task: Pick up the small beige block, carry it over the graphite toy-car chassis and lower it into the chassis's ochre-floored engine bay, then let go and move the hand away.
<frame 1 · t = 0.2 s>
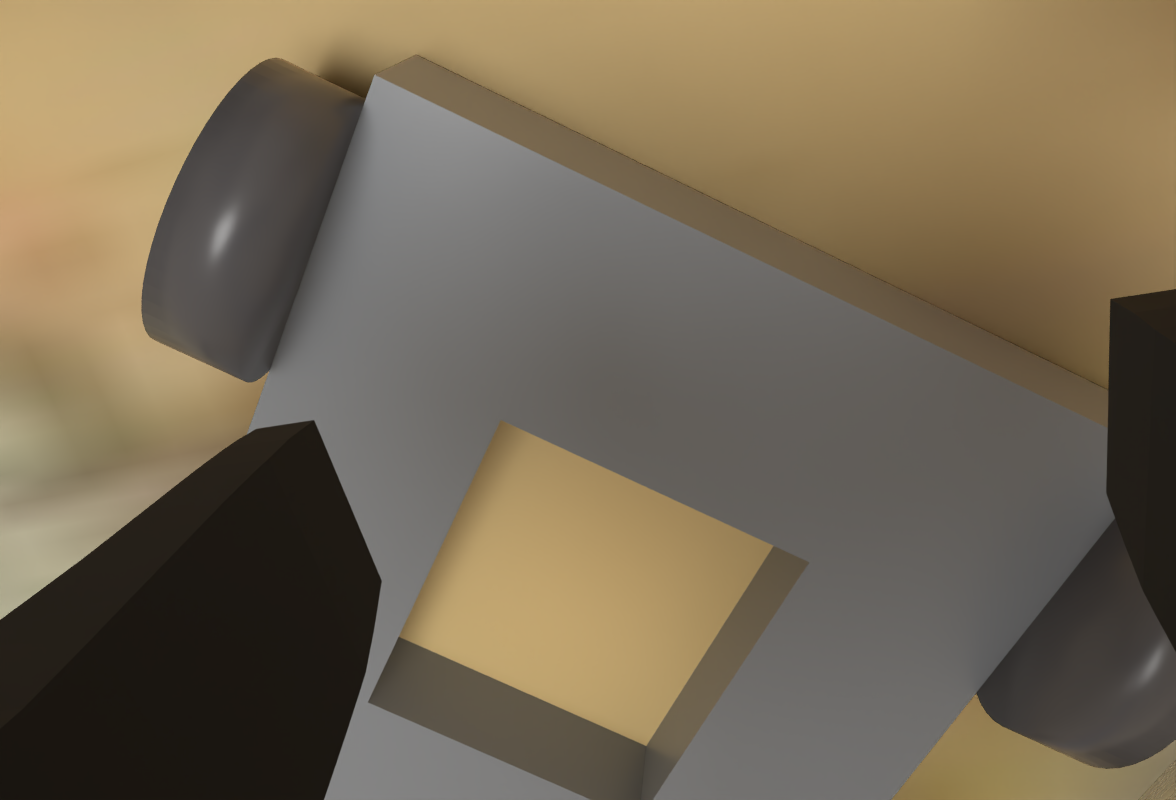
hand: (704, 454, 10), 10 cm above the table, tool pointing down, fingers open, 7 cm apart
chassis: (552, 633, 24), on the table
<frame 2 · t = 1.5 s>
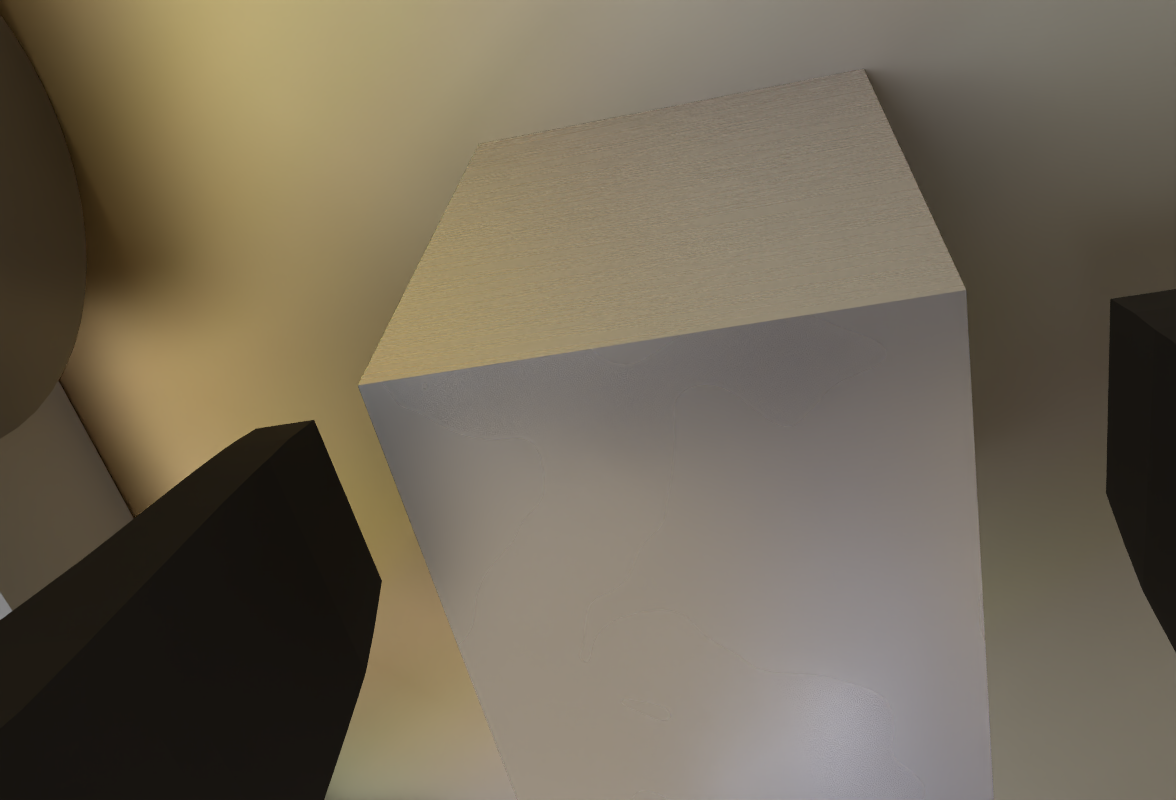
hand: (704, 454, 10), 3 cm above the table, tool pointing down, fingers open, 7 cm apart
beige block: (705, 317, 13), on the table
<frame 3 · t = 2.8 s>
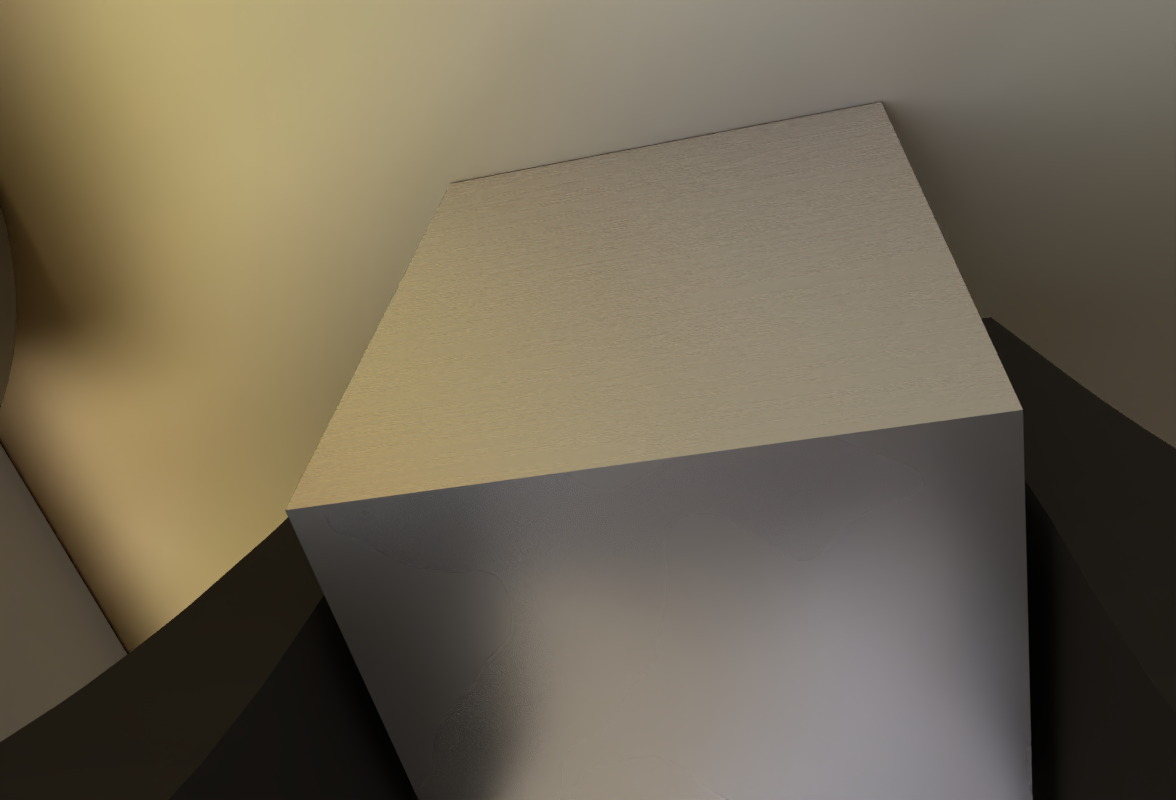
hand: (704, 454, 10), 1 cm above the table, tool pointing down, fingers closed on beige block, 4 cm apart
beige block: (703, 375, 11), on the table, touching gripper
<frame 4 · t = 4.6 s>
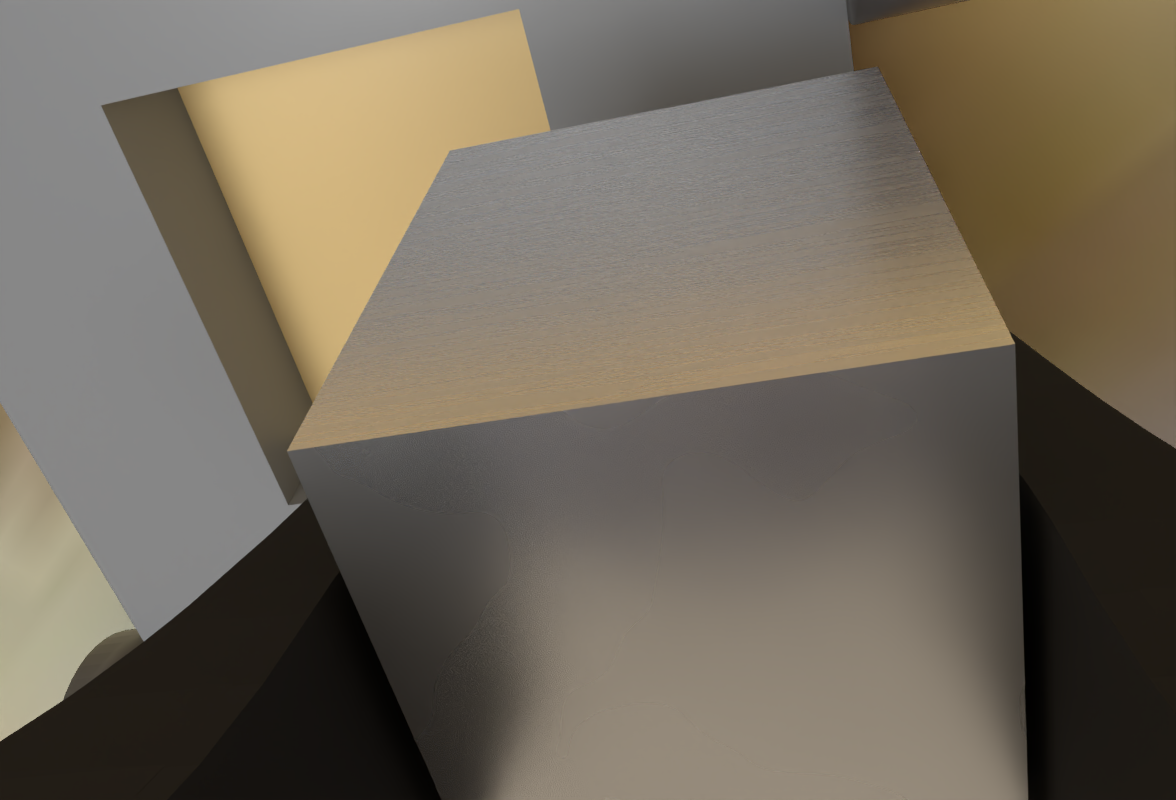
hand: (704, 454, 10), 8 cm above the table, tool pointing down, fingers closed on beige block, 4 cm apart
beige block: (701, 343, 11), point 7 cm above the table, touching gripper
chassis: (457, 328, 19), on the table
when the fingers open (3 cm above the table, at t = 6.7 s): beige block drops 1 cm, resting on chassis.
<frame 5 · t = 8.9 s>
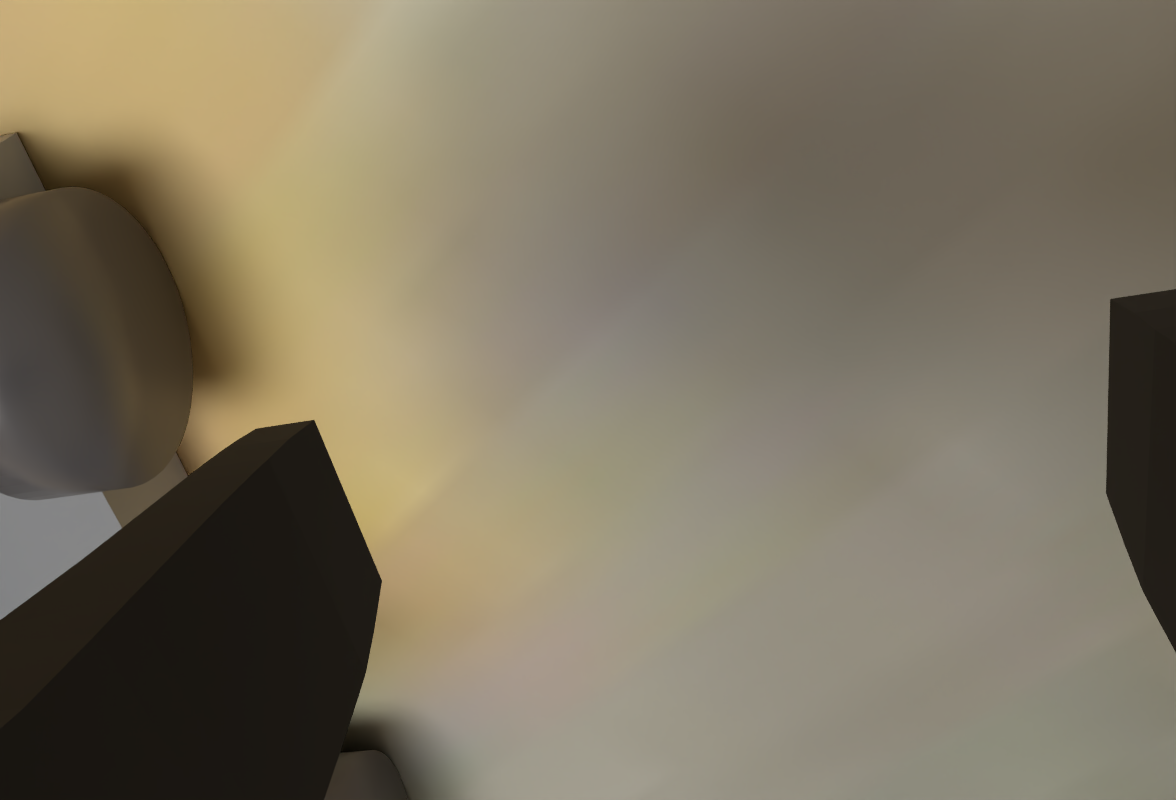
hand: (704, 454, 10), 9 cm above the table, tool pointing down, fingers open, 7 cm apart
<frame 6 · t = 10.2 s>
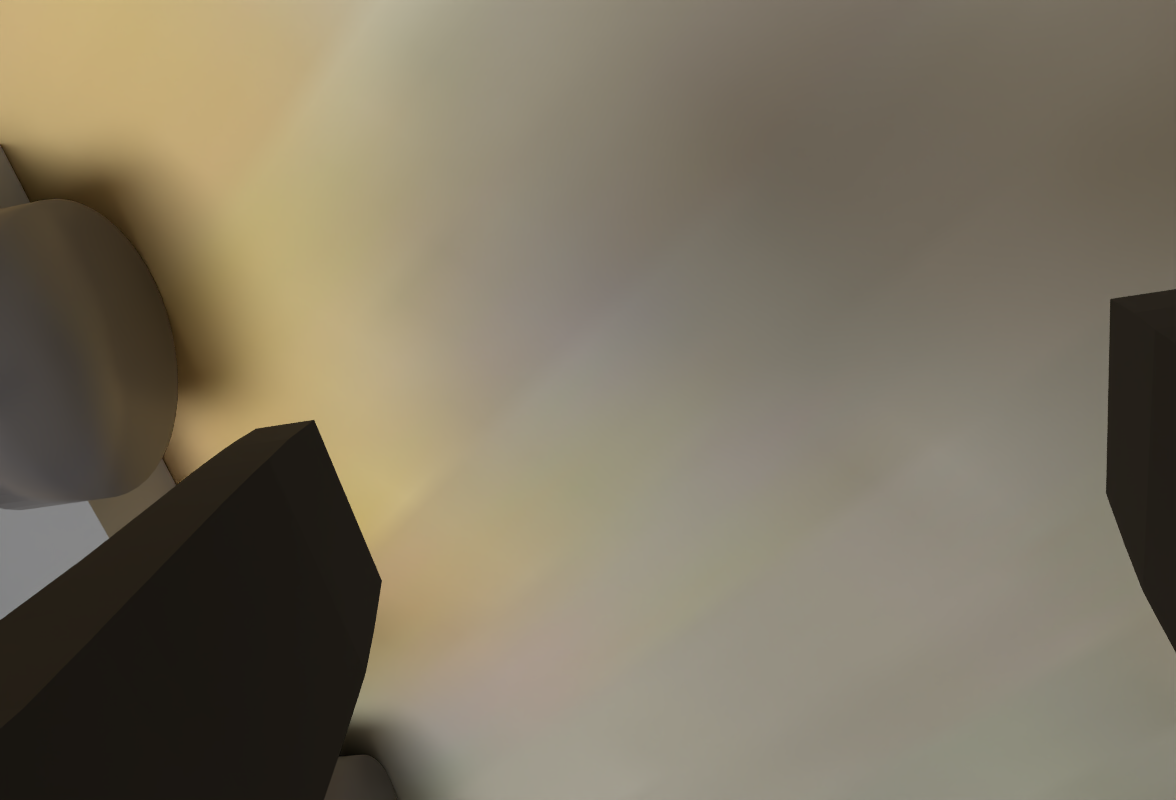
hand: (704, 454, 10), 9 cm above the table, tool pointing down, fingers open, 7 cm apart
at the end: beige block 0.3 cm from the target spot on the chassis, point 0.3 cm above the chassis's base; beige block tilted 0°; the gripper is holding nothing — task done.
